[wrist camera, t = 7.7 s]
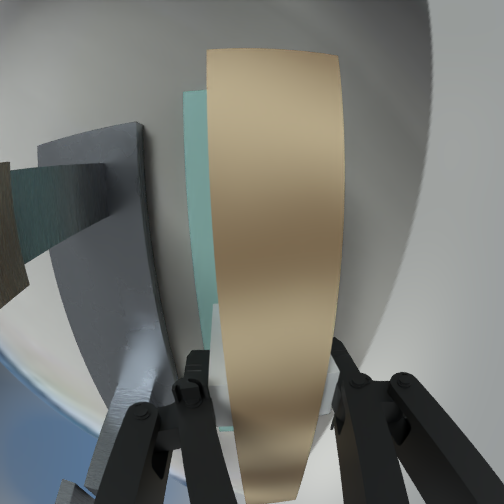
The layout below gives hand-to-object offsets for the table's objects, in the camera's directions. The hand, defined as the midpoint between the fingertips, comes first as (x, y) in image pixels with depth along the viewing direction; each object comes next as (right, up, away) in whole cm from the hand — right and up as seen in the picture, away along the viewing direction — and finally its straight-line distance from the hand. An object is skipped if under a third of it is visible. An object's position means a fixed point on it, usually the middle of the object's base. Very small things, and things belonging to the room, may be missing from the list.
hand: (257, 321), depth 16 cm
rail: (0, -1, -3) cm, 3 cm away
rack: (-10, 0, +1) cm, 10 cm away
